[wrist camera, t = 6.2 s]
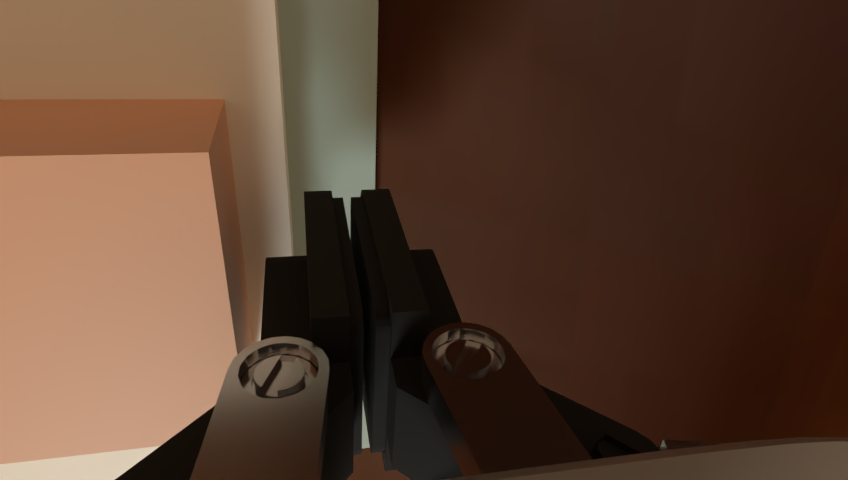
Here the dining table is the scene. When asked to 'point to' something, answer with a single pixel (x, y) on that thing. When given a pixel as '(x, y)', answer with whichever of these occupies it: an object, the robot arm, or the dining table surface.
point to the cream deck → (164, 79)
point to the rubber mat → (329, 103)
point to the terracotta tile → (115, 272)
